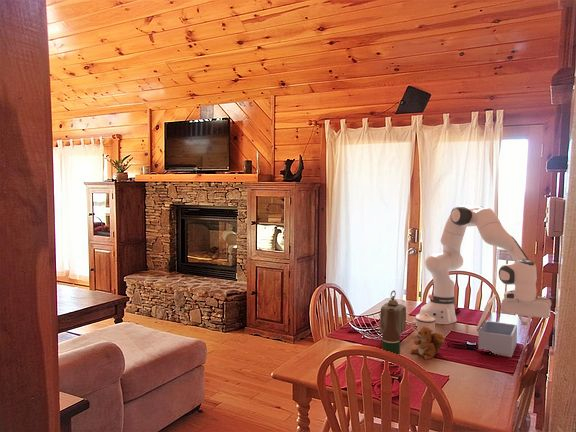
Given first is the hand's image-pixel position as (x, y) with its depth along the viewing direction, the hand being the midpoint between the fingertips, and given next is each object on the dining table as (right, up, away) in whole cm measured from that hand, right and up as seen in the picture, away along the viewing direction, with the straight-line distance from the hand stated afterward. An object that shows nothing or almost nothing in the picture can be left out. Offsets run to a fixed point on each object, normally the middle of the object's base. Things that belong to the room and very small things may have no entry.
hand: (524, 324), depth 211 cm
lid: (-13, +4, +8) cm, 16 cm away
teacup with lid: (-40, -12, +25) cm, 48 cm away
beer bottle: (-65, -14, -12) cm, 67 cm away
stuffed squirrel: (-45, -14, -1) cm, 47 cm away
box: (-9, -13, +7) cm, 17 cm away
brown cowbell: (-56, -12, +19) cm, 61 cm away
